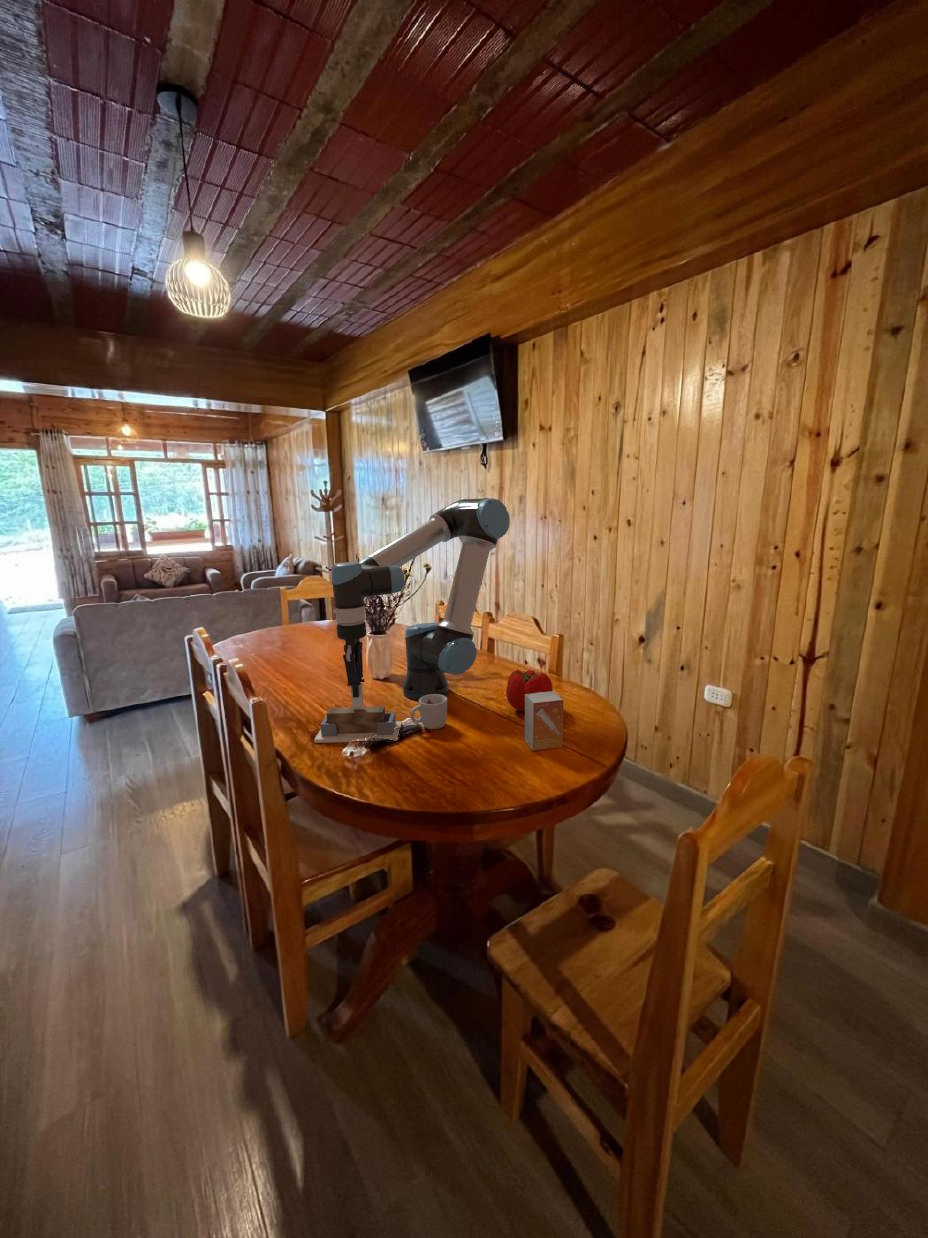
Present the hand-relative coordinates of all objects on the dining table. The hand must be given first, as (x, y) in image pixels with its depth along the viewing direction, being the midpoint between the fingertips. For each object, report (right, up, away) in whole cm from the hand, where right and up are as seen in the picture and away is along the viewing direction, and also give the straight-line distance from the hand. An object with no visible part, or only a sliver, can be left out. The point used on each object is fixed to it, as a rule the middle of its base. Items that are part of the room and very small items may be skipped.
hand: (358, 706), depth 136 cm
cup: (+19, -7, +5) cm, 21 cm away
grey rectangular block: (0, -7, +1) cm, 7 cm away
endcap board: (0, -8, +2) cm, 8 cm away
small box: (+49, -9, -7) cm, 50 cm away
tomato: (+48, -3, +15) cm, 51 cm away
